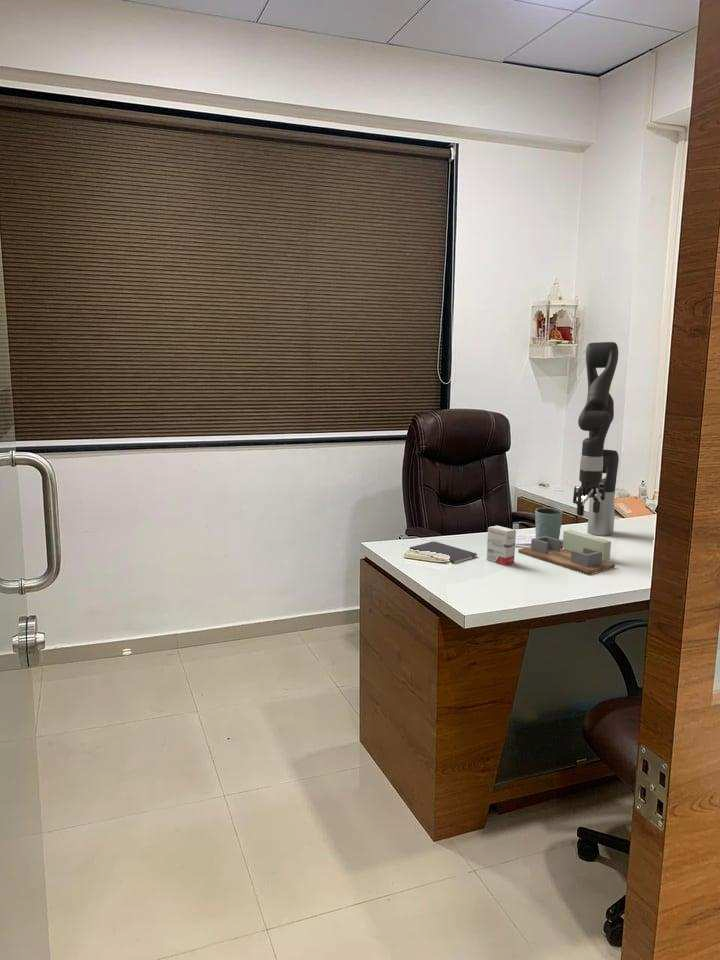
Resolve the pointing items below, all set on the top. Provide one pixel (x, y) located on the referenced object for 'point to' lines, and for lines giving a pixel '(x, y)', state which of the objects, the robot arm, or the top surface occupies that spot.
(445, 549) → the notebook
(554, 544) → the end cap
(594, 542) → the pale green block
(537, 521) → the grey green cup
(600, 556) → the end cap
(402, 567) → the top surface
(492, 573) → the top surface
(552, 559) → the mounting board
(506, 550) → the ink box
